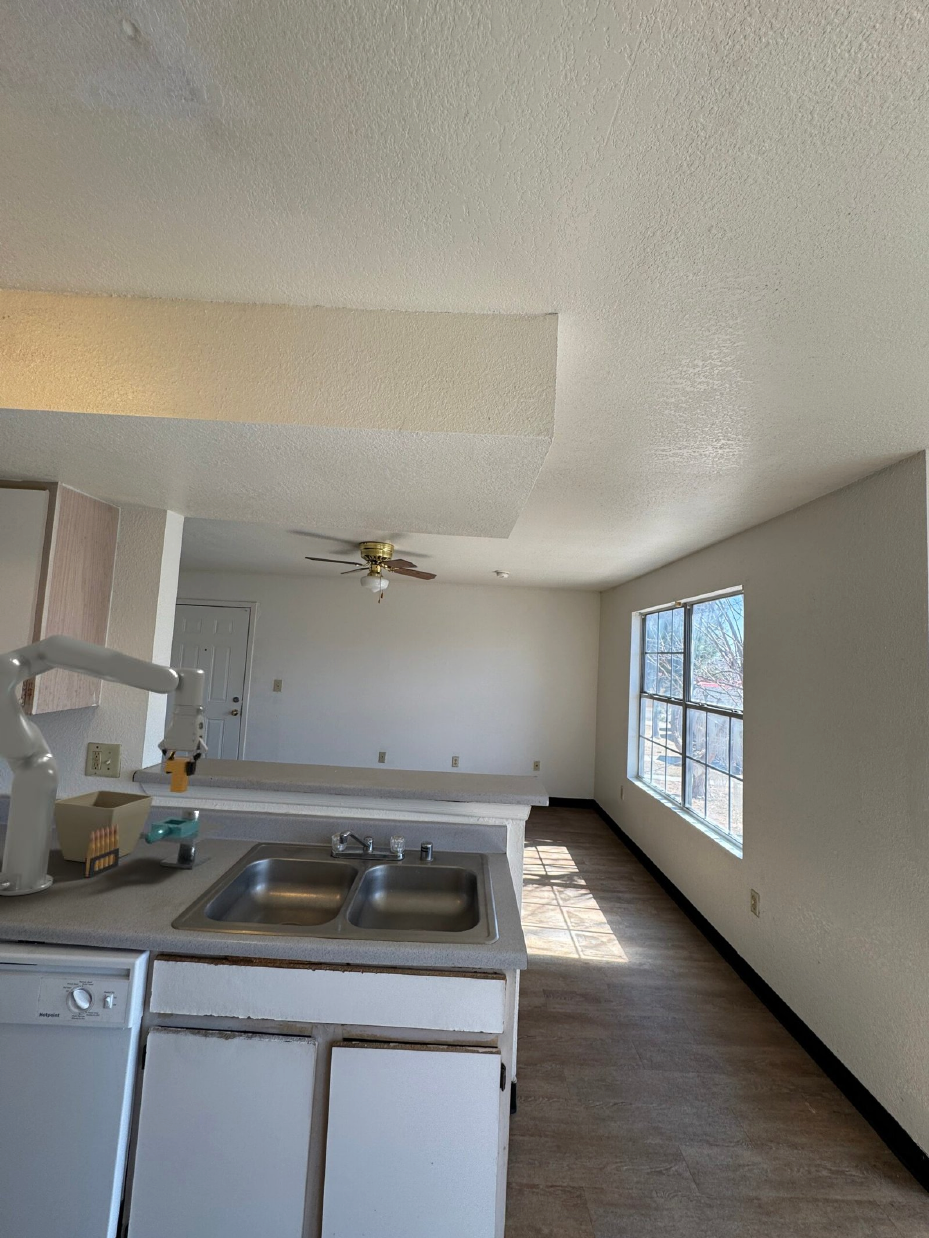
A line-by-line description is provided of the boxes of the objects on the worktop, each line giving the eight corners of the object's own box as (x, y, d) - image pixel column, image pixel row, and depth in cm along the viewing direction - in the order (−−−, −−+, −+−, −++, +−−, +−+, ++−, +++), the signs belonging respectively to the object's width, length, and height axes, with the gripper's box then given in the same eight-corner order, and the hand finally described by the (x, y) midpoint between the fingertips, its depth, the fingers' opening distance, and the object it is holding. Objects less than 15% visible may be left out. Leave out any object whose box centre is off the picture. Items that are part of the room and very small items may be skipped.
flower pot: (93, 843, 191) (100, 788, 192) (149, 850, 188) (155, 795, 189) (43, 862, 172) (51, 801, 173) (104, 870, 169) (111, 809, 170)
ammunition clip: (89, 878, 163) (92, 832, 164) (83, 877, 163) (86, 831, 164) (118, 865, 173) (121, 822, 174) (112, 865, 174) (116, 822, 175)
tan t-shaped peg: (176, 788, 178) (179, 757, 179) (193, 790, 177) (197, 758, 178) (162, 792, 172) (166, 760, 172) (180, 794, 171) (184, 762, 172)
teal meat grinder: (172, 852, 188) (178, 803, 189) (221, 858, 186) (226, 808, 187) (117, 880, 163) (123, 823, 164) (172, 887, 161) (179, 829, 162)
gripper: (221, 712, 179) (215, 774, 177) (167, 707, 181) (160, 769, 180) (207, 714, 171) (200, 779, 170) (151, 709, 173) (144, 773, 172)
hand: (180, 773), depth 175 cm, fingers closed on tan t-shaped peg, 5 cm apart
